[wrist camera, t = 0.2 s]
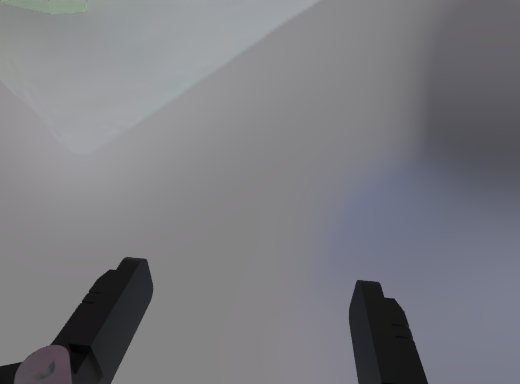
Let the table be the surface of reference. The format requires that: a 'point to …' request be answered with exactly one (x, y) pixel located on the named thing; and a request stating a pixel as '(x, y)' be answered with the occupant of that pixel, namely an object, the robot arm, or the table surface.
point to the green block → (50, 5)
